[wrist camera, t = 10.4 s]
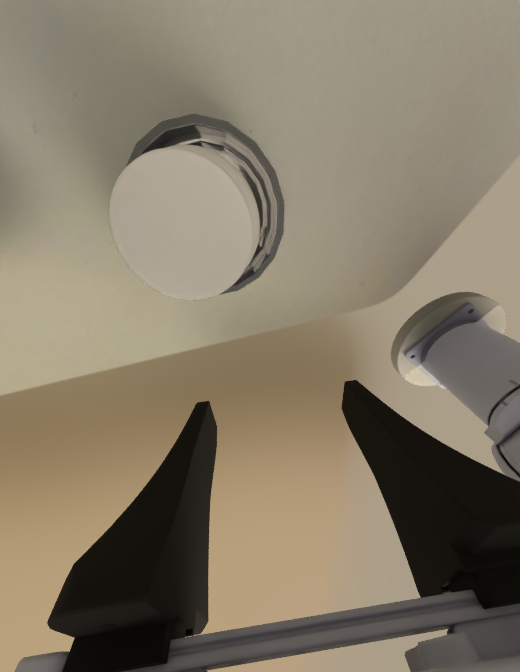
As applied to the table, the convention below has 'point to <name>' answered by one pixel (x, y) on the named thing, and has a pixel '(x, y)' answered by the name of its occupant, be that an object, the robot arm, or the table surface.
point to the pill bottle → (184, 221)
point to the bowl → (246, 160)
